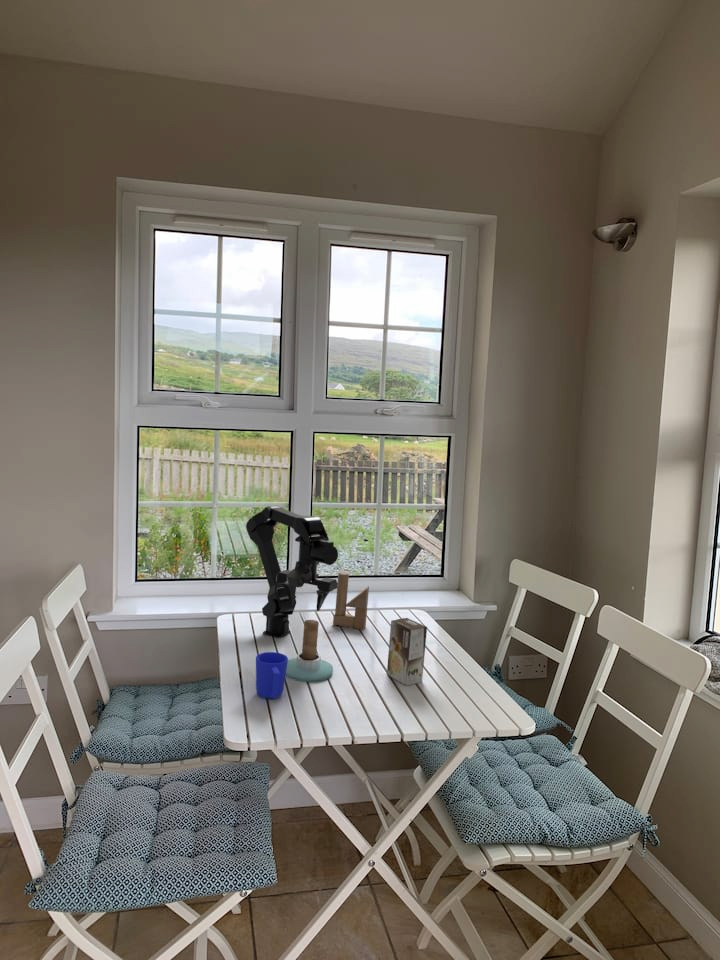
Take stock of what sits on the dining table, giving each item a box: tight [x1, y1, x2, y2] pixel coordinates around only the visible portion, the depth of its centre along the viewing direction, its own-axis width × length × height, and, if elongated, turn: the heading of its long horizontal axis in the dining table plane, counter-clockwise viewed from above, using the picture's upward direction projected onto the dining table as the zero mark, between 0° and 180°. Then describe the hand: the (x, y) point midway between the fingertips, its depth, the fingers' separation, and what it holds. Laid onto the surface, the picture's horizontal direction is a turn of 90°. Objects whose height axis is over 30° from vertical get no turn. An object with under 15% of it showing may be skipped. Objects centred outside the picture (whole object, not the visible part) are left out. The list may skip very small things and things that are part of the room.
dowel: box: [301, 619, 320, 660], centre depth 209 cm, size 4×4×13 cm
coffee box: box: [386, 617, 428, 686], centre depth 210 cm, size 9×6×16 cm
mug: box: [255, 651, 289, 700], centre depth 190 cm, size 8×12×10 cm
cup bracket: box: [285, 652, 334, 683], centre depth 210 cm, size 14×14×4 cm
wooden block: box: [332, 571, 370, 630], centre depth 251 cm, size 4×11×18 cm, turn 79°
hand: (305, 608), depth 229 cm, fingers open, 9 cm apart
